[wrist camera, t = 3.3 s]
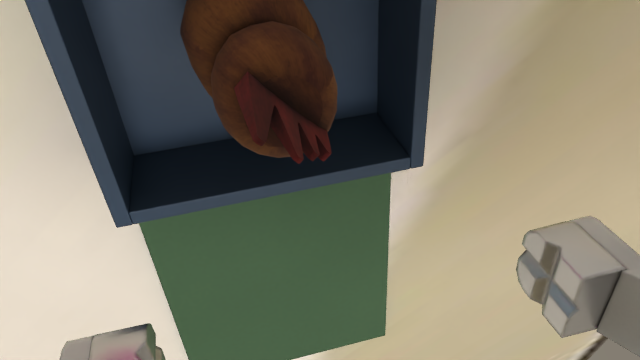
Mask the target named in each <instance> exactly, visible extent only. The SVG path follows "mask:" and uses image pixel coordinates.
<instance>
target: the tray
mask: <svg viewBox="0 0 640 360" xmlns="http://www.w3.org/2000/svg"><path fill="white" fill-rule="evenodd" d="M186 1H187V0H25V2H26V5H27V7H28V10H29V12H30V14H31V17H32V19H33V22H34V24H35V27H36V29H37V32H38V34H39V37H40V39H41V42H42V44H43V47H44V49H45V52H46V54H47V57H48V59H49V61H50V64H51V66H52V69H53V71H54V74H55V76H56V79H57V81H58V84H59V86H60V89H61V91H62V94H63V96H64V99H65V101H66V104H67V106H68V109H69V111H70V113H71V116H72V118H73V121H74V123H75V126H76V128H77V131H78V133H79V136H80V138H81V141H82V143H83V146H84V148H85V151H86V153H87V156H88V158H89V160H90V163H91V165H92V168H93V170H94V173H95V175H96V178H97V180H98V183H99V185H100V188H101V190H102V193H103V195H104V198H105V200H106V203H107V205H108V208H109V210H110V212H111V215H112V217H113V220H114V222H115V225H116V227H117V228H118V227H123V226H128V225H132V224H137V223H142V222H147V221H152V220H157V219H162V218H167V217H172V216H177V215H182V214H187V213H192V212H197V211H202V210H207V209H212V208H217V207H222V206H227V205H232V204H237V203H242V202H247V201H252V200H257V199H262V198H267V197H272V196H277V195H282V194H287V193H292V192H297V191H302V190H307V189H312V188H317V187H322V186H327V185H332V184H337V183H341V182H346V181H351V180H356V179H361V178H366V177H371V176H376V175H381V174H386V173H391V172H396V171H401V170H406V169H410V168H416V167H421V166H423V160H424V148H425V136H426V123H427V111H428V99H429V87H430V75H431V62H432V50H433V38H434V26H435V14H436V1H437V0H303V1H304V3H305V5H306V6H307V8H308V10H309V12H310V14H311V15H312V17H313V19H314V20H315V22H316V24H317V27H318V29H319V32H320V34H321V37H322V40H323V42H324V45H325V50H326V56H327V59H328V61H329V62H330V64H331V66H332V69H333V72H334V76H335V79H336V83H337V112H336V114H335V117H334V120H333V123H332V125H331V128H330V130H329V131H328V132H327V133H328V138H329V142H330V146H331V153H332V154H331V155H330V156H329V157H328V158H327V159H326V160H325V161H322V160H320V159H319V158H318V157H317V158H316V159H315V160H314V161H311V160H310V159H308V158H307V156H306V155H305V154H304V153H303V157H304V160H303V161H302V162H301V163H300V164H298V163H296V162H295V161H294V160H293V159H292V158H291V157H283V158H275V157H270V156H265V155H260V154H257V153H255V152H253V151H251V150H249V149H247V148H245V147H244V146H242V145H241V144H240V143H239V142H237V141H236V140H235V139H234V138H233V137H232V136H231V135H230V134H229V133H228V132H227V131H226V129H225V128H224V127H223V125H222V122H221V120H220V118H219V116H218V114H217V111H216V109H215V106H214V102H213V98H212V97H211V96H210V95H209V94H208V92H207V91H206V90H205V88H204V87H203V85H202V83H201V81H200V80H199V78H198V76H197V75H196V73H195V71H194V69H193V68H192V66H191V63H190V60H189V57H188V54H187V52H186V49H185V46H184V43H183V40H182V37H181V34H180V26H181V22H182V18H183V14H184V9H185V5H186Z"/></svg>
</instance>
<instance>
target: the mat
mask: <svg viewBox="0 0 640 360" xmlns="http://www.w3.org/2000/svg"><path fill="white" fill-rule="evenodd" d="M390 182H391V173H386V174H381V175H376V176H371V177H366V178H361V179H356V180H351V181H346V182H341V183H337V184H332V185H327V186H322V187H317V188H312V189H307V190H302V191H297V192H292V193H287V194H282V195H277V196H272V197H267V198H262V199H257V200H252V201H247V202H242V203H237V204H232V205H227V206H222V207H217V208H212V209H207V210H202V211H197V212H192V213H187V214H182V215H177V216H172V217H167V218H162V219H157V220H152V221H147V222H142V223H139V224H140V227H141V230H142V233H143V235H144V238H145V241H146V244H147V246H148V249H149V252H150V255H151V257H152V260H153V263H154V266H155V268H156V271H157V274H158V276H159V279H160V282H161V285H162V287H163V290H164V293H165V296H166V298H167V301H168V304H169V307H170V309H171V312H172V315H173V318H174V320H175V323H176V326H177V328H178V331H179V334H180V337H181V339H182V342H183V345H184V348H185V350H186V353H187V356H188V359H189V360H291V359H295V358H299V357H303V356H307V355H311V354H315V353H318V352H322V351H326V350H330V349H334V348H338V347H342V346H345V345H349V344H353V343H357V342H361V341H365V340H369V339H372V338H376V337H380V336H384V335H385V324H386V296H387V268H388V239H389V211H390Z"/></svg>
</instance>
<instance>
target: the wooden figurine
mask: <svg viewBox="0 0 640 360" xmlns="http://www.w3.org/2000/svg"><path fill="white" fill-rule="evenodd" d="M180 34H181V37H182V40H183V43H184V46H185V49H186V52H187V54H188V57H189V60H190V63H191V66H192V68H193V69H194V71H195V73H196V75H197V76H198V78H199V80H200V81H201V83H202V85H203V87H204V88H205V90H206V91H207V92H208V94H209V95H210V96H211V97H212V98H213V102H214V106H215V109H216V111H217V114H218V116H219V118H220V120H221V122H222V125H223V127H224V128H225V129H226V131H227V132H228V133H229V134H230V135H231V136H232V137H233V138H234V139H235V140H236V141H237V142H239V143H240V144H241V145H242V146H244V147H245V148H247V149H249V150H251V151H253V152H255V153H257V154H260V155H265V156H270V157H275V158H283V157H291V158H292V159H293V160H294V161H295V162H296V163H298V164H300V163H301V162H302V161H303V160H304V157H303V153H304V154H305V155H306V156H307V158H308V159H310V160H311V161H314V160H315V159H316V158H317V157H318V158H319V159H320V160H322V161H325V160H326V159H327V158H328V157H329V156H330V155H331V154H332V153H331V146H330V142H329V138H328V133H327V132H328V131H329V130H330V128H331V125H332V123H333V120H334V117H335V114H336V112H337V83H336V79H335V76H334V72H333V69H332V66H331V64H330V62H329V61H328V59H327V56H326V50H325V45H324V42H323V40H322V37H321V34H320V32H319V29H318V27H317V24H316V22H315V20H314V19H313V17H312V15H311V14H310V12H309V10H308V8H307V6H306V5H305V3H304V1H303V0H187V1H186V5H185V9H184V14H183V18H182V22H181V26H180Z"/></svg>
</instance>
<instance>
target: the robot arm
mask: <svg viewBox="0 0 640 360" xmlns="http://www.w3.org/2000/svg"><path fill="white" fill-rule="evenodd" d="M522 245H523V246H524V247H525V249H526V250H525V252H524V253H523V254H522V255H521V256H520V257H519V258H518V263H517V268H516V271H517V276H518V281H519V283H520V285H521V287H522V289H523V290H524V292H525V293H526V294H527V296H528V297H529V298H530V299H532V300H534V301H536V302H538V303H540V304H542V315H543V316H544V317H545V318H546V319H547V321H548V322H549V323H550V324H551V326H552V327H553V328H554V329H555V331H556V332H557V333H558V334H559V335H560V337H561V338H564V337H568V336H571V335H575V334H579V333H583V332H587V331H591V330H595V329H597V332H599V333H600V334H602V335H604V336H605V337H607V338H609V339H611V340H612V341H614V342H615V343H617V344H619V345H620V346H622V347H624V348H625V349H627V350H629V351H630V352H632V353H634V354H635V355H637V356H639V357H640V255H639V254H638V253H637V252H635V251H634V250H633V249H632V248H631V247H630V246H628V245H627V244H626V243H625V242H624V241H623V240H621V239H620V238H619V237H618V236H617V235H616V234H615V233H613V232H612V231H611V230H610V229H609V228H608V227H606V226H605V225H604V224H603V223H602V222H601V221H600V220H598V219H597V218H595V217H592V216H586V217H582V218H578V219H574V220H570V221H565V222H561V223H557V224H553V225H549V226H545V227H541V228H538V229H534V230H530V231H528V232H527V233H526V234H525V235H524V238H523V242H522ZM60 360H165V357H164V354H163V351H162V349H161V348H159V347H157V346H156V334H155V332H154V330H153V328H152V325H151V324H144V325H139V326H134V327H130V328H125V329H121V330H116V331H111V332H107V333H102V334H97V335H94V336H90V337H85V338H81V339H76V340H72V341H67V342H66V344H65V345H64V347H63V349H62V351H61V356H60Z"/></svg>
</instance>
